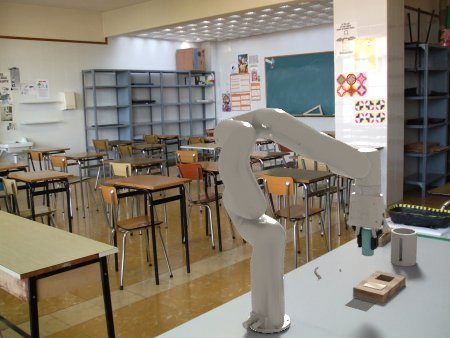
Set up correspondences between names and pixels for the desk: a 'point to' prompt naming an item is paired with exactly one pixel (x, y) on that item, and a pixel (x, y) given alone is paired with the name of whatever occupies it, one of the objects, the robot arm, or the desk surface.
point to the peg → (367, 242)
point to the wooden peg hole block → (379, 286)
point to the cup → (403, 246)
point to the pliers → (319, 275)
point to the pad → (360, 304)
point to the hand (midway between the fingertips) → (367, 247)
